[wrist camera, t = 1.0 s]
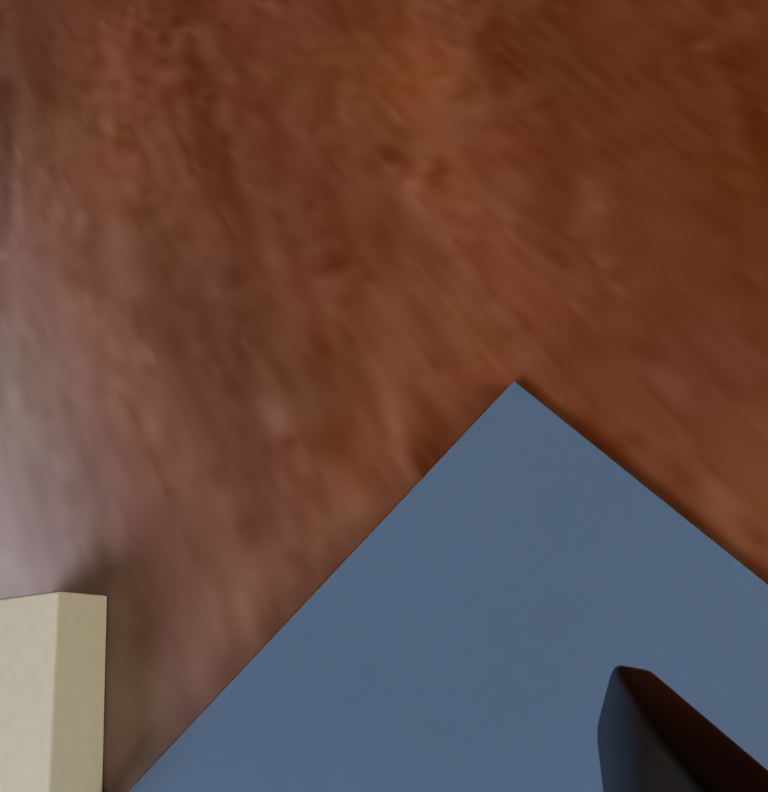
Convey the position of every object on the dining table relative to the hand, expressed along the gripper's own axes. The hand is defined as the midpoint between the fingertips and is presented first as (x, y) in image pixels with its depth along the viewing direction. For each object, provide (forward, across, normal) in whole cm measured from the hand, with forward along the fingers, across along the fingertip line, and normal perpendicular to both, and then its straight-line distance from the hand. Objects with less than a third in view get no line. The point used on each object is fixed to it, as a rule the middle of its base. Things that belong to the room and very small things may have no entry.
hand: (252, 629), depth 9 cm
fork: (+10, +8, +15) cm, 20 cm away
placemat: (+11, -6, +11) cm, 16 cm away
